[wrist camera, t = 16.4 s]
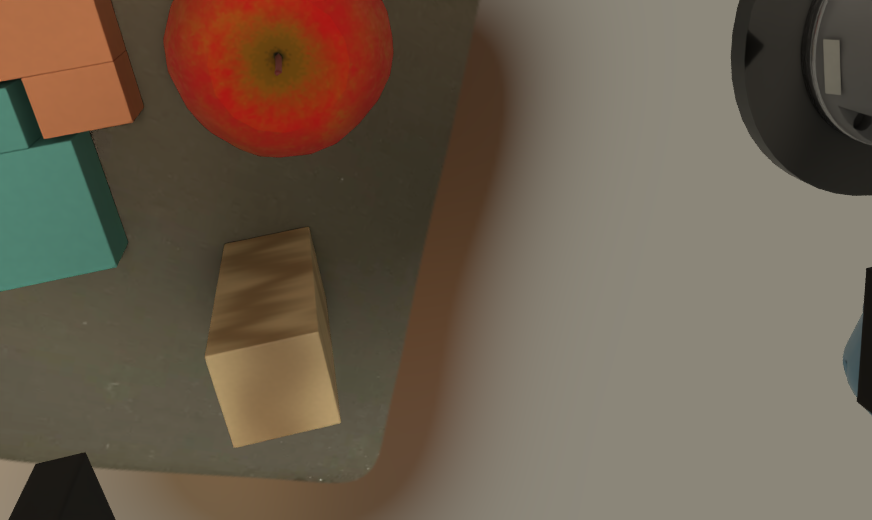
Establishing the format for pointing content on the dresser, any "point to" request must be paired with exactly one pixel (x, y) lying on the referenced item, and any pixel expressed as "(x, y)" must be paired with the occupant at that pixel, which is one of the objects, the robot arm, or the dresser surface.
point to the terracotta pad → (69, 63)
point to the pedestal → (272, 340)
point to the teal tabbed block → (51, 201)
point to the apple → (279, 69)
